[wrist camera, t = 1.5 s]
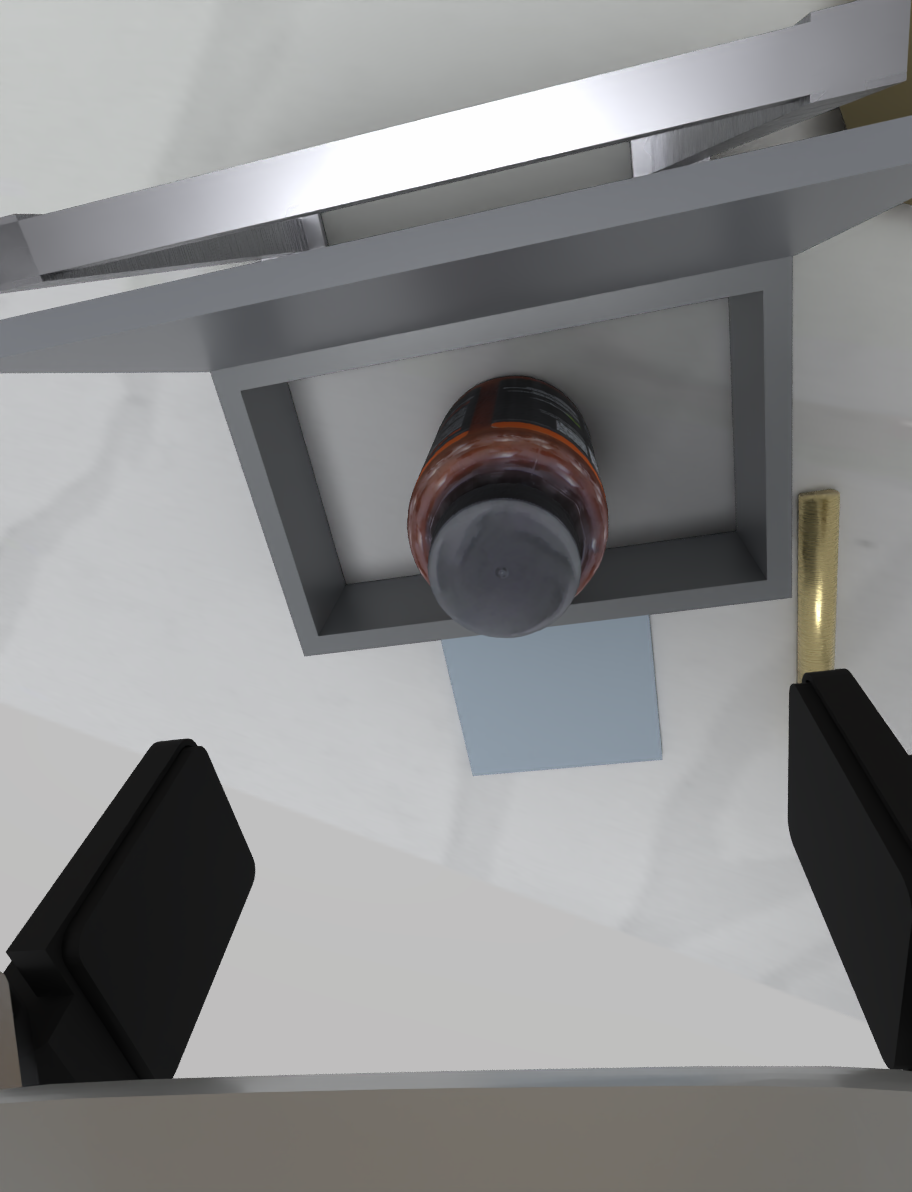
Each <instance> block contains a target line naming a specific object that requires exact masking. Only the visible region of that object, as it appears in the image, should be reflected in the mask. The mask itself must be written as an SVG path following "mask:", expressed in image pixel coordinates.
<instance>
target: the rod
mask: <svg viewBox="0 0 912 1192" xmlns="http://www.w3.org/2000/svg"><path fill="white" fill-rule="evenodd" d="M839 504H840V493H839V492H838V491H836V490H833V489H827V490H820V491H813V492H806V493H800V494H799V529H798V678H797V683H802V677H803V674H805V673H807V672H817V671H826V670H834V660H835V629H836V598H837V567H838V536H839Z"/></svg>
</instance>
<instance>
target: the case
mask: <svg viewBox="0 0 912 1192" xmlns="http://www.w3.org/2000/svg"><path fill="white" fill-rule="evenodd" d="M792 276H793V256H789V257H784V258H779V259H774V260H769V261H763V262H758V263H753V264H748V265H743V266H738V267H733V268H728V269H723V270H718V271H713V272H708V273H703V274H698V275H693V276H688V277H683V278H678V279H673V280H668V281H663V282H658V283H653V284H648V285H643V286H638V287H633V288H628V289H623V290H617V291H612V292H607V293H602V294H597V295H592V296H587V297H582V298H577V299H572V300H567V301H562V302H557V303H552V304H547V305H542V306H537V307H532V308H527V309H522V310H517V311H512V312H507V313H502V314H497V315H492V316H487V317H482V318H477V319H472V320H466V321H461V322H456V323H451V324H446V325H441V326H436V327H431V328H426V329H421V330H416V331H411V332H406V333H401V334H396V335H391V336H386V337H381V338H376V339H371V340H366V341H361V342H356V343H351V344H346V345H341V346H336V347H331V348H326V349H320V350H315V351H310V352H305V353H300V354H295V355H290V356H285V357H280V358H275V359H270V360H265V361H260V362H255V363H250V364H245V365H240V366H235V367H230V368H225V369H220V370H215V371H210V373H211V376H212V379H213V382H214V385H215V388H216V391H217V394H218V397H219V400H220V403H221V406H222V409H223V412H224V415H225V418H226V421H227V424H228V427H229V430H230V433H231V436H232V439H233V442H234V445H235V448H236V451H237V454H238V457H239V460H240V463H241V466H242V469H243V472H244V475H245V478H246V481H247V484H248V487H249V491H250V494H251V497H252V500H253V503H254V506H255V509H256V512H257V515H258V518H259V521H260V524H261V527H262V530H263V533H264V536H265V539H266V542H267V545H268V548H269V551H270V554H271V557H272V560H273V563H274V566H275V569H276V572H277V575H278V578H279V581H280V584H281V587H282V590H283V593H284V596H285V599H286V602H287V605H288V608H289V611H290V614H291V617H292V620H293V623H294V626H295V629H296V632H297V635H298V638H299V641H300V644H301V647H302V650H303V653H304V656H312V655H320V654H328V653H337V652H345V651H353V650H362V649H370V648H378V647H387V646H395V645H403V644H411V643H420V642H428V641H436V640H445V639H453V638H461V637H469V636H478V635H480V634H478V633H475V632H473V631H470V630H468V629H466V628H465V627H463V626H461V625H460V624H459V623H457V622H455V621H454V620H453V619H452V618H451V617H450V616H449V615H448V614H447V613H446V612H445V611H444V610H443V609H442V608H441V606H440V605H439V604H438V602H437V600H436V598H435V596H434V594H433V592H432V589H431V586H430V585H429V584H428V582H427V581H426V580H425V578H424V577H423V576H422V575H415V576H408V577H401V578H393V579H386V580H379V581H372V582H364V583H357V584H350V585H346V584H345V581H344V577H343V574H342V570H341V567H340V563H339V560H338V556H337V553H336V549H335V546H334V543H333V539H332V536H331V532H330V529H329V525H328V522H327V518H326V515H325V511H324V508H323V505H322V501H321V498H320V494H319V491H318V487H317V484H316V480H315V477H314V473H313V470H312V466H311V463H310V460H309V456H308V453H307V449H306V446H305V442H304V439H303V435H302V432H301V428H300V425H299V422H298V418H297V415H296V411H295V408H294V404H293V401H292V397H291V394H290V390H289V387H288V384H287V382H289V381H294V380H299V379H304V378H309V377H315V376H320V375H325V374H330V373H336V372H341V371H346V370H351V369H356V368H362V367H367V366H372V365H377V364H382V363H388V362H393V361H398V360H403V359H408V358H414V357H419V356H424V355H429V354H434V353H440V352H445V351H450V350H455V349H460V348H466V347H471V346H476V345H481V344H487V343H492V342H497V341H502V340H507V339H513V338H518V337H523V336H528V335H533V334H539V333H544V332H549V331H554V330H559V329H565V328H570V327H575V326H580V325H585V324H591V323H596V322H601V321H606V320H612V319H617V318H622V317H627V316H632V315H638V314H643V313H648V312H653V311H658V310H664V309H669V308H674V307H679V306H684V305H690V304H695V303H700V302H705V301H710V300H716V299H721V298H726V297H729V323H730V354H731V384H732V415H733V445H734V476H735V506H736V531H735V532H728V533H721V534H713V535H706V536H699V537H692V538H684V539H677V540H670V541H662V542H655V543H648V544H641V545H633V546H626V547H619V548H612V549H605V552H604V555H603V558H602V560H601V563H600V565H599V567H598V569H597V570H596V572H595V574H594V575H593V577H592V578H591V580H590V581H589V582H588V583H587V585H586V586H585V587H584V588H583V590H582V591H581V592H580V593H579V594H578V595H577V596H575V597H574V599H573V600H572V602H571V605H570V606H569V607H568V609H567V610H566V611H565V613H564V614H563V615H562V616H561V617H559V618H558V619H557V620H556V621H555V622H554V623H552V624H550V625H549V626H548V627H552V626H561V625H569V624H577V623H586V622H594V621H602V620H610V619H619V618H627V617H635V616H644V615H652V614H660V613H668V612H677V611H685V610H693V609H702V608H710V607H718V606H726V605H735V604H743V603H751V602H760V601H768V600H776V599H785V598H792Z"/></svg>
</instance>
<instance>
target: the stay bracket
mask: <svg viewBox="0 0 912 1192" xmlns="http://www.w3.org/2000/svg"><path fill="white" fill-rule="evenodd" d="M910 10H911V0H858V1H854V2H850V3H846V4H842V5H838V6H834V7H830V8H826V9H822V10H818V11H814V12H811V13H809V14H808V15H807V16H806V17H804V18H803V19H802V20H800V21H799V22H798V23H797V24H795V25H794V26H792V27H788V28H784V29H780V30H776V31H772V32H768V33H764V34H760V35H756V36H752V37H748V38H744V39H740V40H736V41H733V42H729V43H725V44H721V45H717V46H713V47H709V48H705V49H701V50H697V51H693V52H689V53H685V54H681V55H677V56H673V57H669V58H665V59H661V60H657V61H653V62H649V63H645V64H641V65H637V66H633V67H629V68H625V69H621V70H617V71H613V72H609V73H605V74H601V75H597V76H593V77H589V78H585V79H581V80H577V81H573V82H569V83H565V84H561V85H557V86H553V87H549V88H545V89H541V90H537V91H533V92H529V93H525V94H521V95H517V96H513V97H509V98H505V99H501V100H497V101H493V102H490V103H486V104H482V105H478V106H474V107H470V108H466V109H462V110H458V111H454V112H450V113H446V114H442V115H438V116H434V117H430V118H426V119H422V120H418V121H414V122H410V123H406V124H402V125H398V126H394V127H390V128H386V129H382V130H378V131H374V132H370V133H366V134H362V135H358V136H354V137H350V138H346V139H342V140H338V141H334V142H330V143H326V144H322V145H318V146H314V147H310V148H306V149H302V150H298V151H294V152H290V153H286V154H282V155H278V156H274V157H270V158H266V159H262V160H258V161H254V162H250V163H246V164H243V165H239V166H235V167H231V168H227V169H223V170H219V171H215V172H211V173H207V174H203V175H199V176H195V177H191V178H187V179H183V180H179V181H175V182H171V183H167V184H163V185H159V186H155V187H151V188H147V189H143V190H139V191H135V192H131V193H127V194H123V195H119V196H115V197H111V198H107V199H103V200H99V201H95V202H91V203H87V204H83V205H79V206H75V207H71V208H67V209H63V210H59V211H55V212H51V213H47V214H13V215H9V216H5V217H1V218H0V294H1V293H9V292H16V291H24V290H31V289H39V288H47V287H54V286H62V285H69V284H77V283H85V282H92V281H100V280H108V279H115V278H123V277H130V276H138V275H146V274H153V273H161V272H168V271H176V270H184V269H191V268H199V267H206V266H214V265H222V264H229V263H237V262H245V261H252V260H260V259H261V260H262V261H265V260H270V259H274V258H279V257H283V256H287V255H292V254H296V253H301V252H305V251H310V250H314V249H319V248H323V247H328V243H327V239H326V234H325V230H324V226H323V222H322V218H321V214H320V213H323V212H328V211H332V210H336V209H340V208H345V207H349V206H353V205H358V204H362V203H366V202H370V201H375V200H379V199H383V198H388V197H392V196H396V195H400V194H405V193H409V192H413V191H417V190H422V189H426V188H430V187H435V186H439V185H443V184H447V183H452V182H456V181H460V180H465V179H469V178H473V177H477V176H482V175H486V174H490V173H495V172H499V171H503V170H507V169H512V168H516V167H520V166H525V165H529V164H533V163H537V162H542V161H546V160H550V159H555V158H559V157H563V156H567V155H572V154H576V153H580V152H584V151H589V150H593V149H597V148H602V147H606V146H610V145H614V144H619V143H623V142H627V141H630V154H631V166H632V178H635V177H639V176H644V175H648V174H653V173H657V172H661V171H666V170H670V169H675V168H679V167H684V166H688V165H693V164H697V163H701V162H706V161H710V157H711V156H714V155H716V154H719V153H721V152H724V151H726V150H729V149H732V148H734V147H737V146H739V145H742V144H744V143H747V142H750V141H752V140H755V139H757V138H760V137H763V136H765V135H768V134H770V133H773V132H775V131H778V130H781V129H783V128H786V127H788V126H791V125H793V124H796V123H799V122H801V121H804V120H806V119H809V118H812V117H814V116H817V115H819V114H822V113H824V112H827V111H830V110H832V109H835V108H837V107H840V106H842V105H845V104H848V103H850V102H853V101H855V100H858V99H861V98H863V97H866V96H868V95H871V94H873V93H876V92H879V91H881V90H884V89H886V88H889V87H892V86H894V85H897V84H899V83H902V82H904V81H906V79H907V61H908V44H909V27H910Z"/></svg>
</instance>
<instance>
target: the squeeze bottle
mask: <svg viewBox="0 0 912 1192" xmlns="http://www.w3.org/2000/svg"><path fill="white" fill-rule="evenodd" d="M840 110H841V113H842V116H843V119H844V122H845V125H846V128H847V130H848V129H853V128H857V127H862V126H866V125H871V124H875V123H880V122H884V121H888V120H893V119H897V118H902V117H906V116H911V115H912V0H911V10H910V27H909V44H908V61H907V79H906V81H904V82H902V83H899V84H897V85H894V86H892V87H889V88H886V89H884V90H881V91H879V92H876V93H873V94H871V95H868V96H866V97H863V98H861V99H858V100H855V101H853V102H850V103H848V104H845V105H842V106H840ZM903 203H906V204H910V205H912V198H911V199H909V200H907V201H905V202H903Z"/></svg>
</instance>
